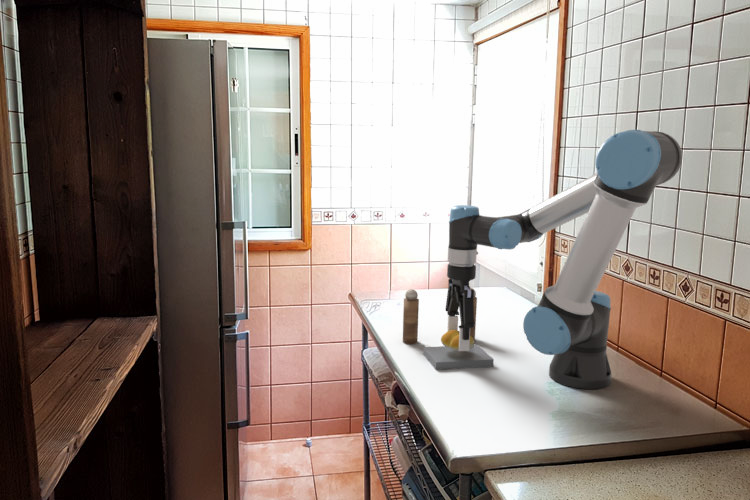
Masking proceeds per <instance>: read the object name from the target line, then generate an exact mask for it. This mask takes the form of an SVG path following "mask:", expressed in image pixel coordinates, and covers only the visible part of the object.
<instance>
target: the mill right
mask: <svg viewBox="0 0 750 500" xmlns="http://www.w3.org/2000/svg"><path fill="white" fill-rule="evenodd" d="M472 289H473V290H474V297H473V305H474V327H472V328H470V336H471V337H472V338H473V339H474V341H475V339H476V326H477V323H476V322H477V303H478V298H477V295H476V293H477V292H476V290H475V289H474V288H473V287H470V290H472Z"/></svg>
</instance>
